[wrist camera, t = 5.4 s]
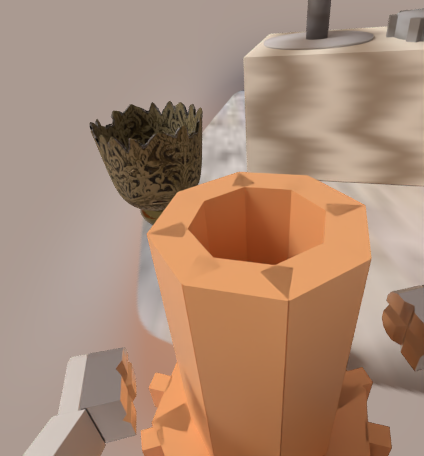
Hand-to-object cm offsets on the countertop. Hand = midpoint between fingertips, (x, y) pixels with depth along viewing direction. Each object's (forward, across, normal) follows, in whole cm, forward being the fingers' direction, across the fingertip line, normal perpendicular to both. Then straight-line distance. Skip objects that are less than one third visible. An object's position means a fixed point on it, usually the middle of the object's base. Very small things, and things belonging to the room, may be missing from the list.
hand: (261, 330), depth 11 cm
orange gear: (0, 0, +6) cm, 6 cm away
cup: (+17, +3, +6) cm, 18 cm away
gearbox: (+23, -17, +6) cm, 29 cm away
